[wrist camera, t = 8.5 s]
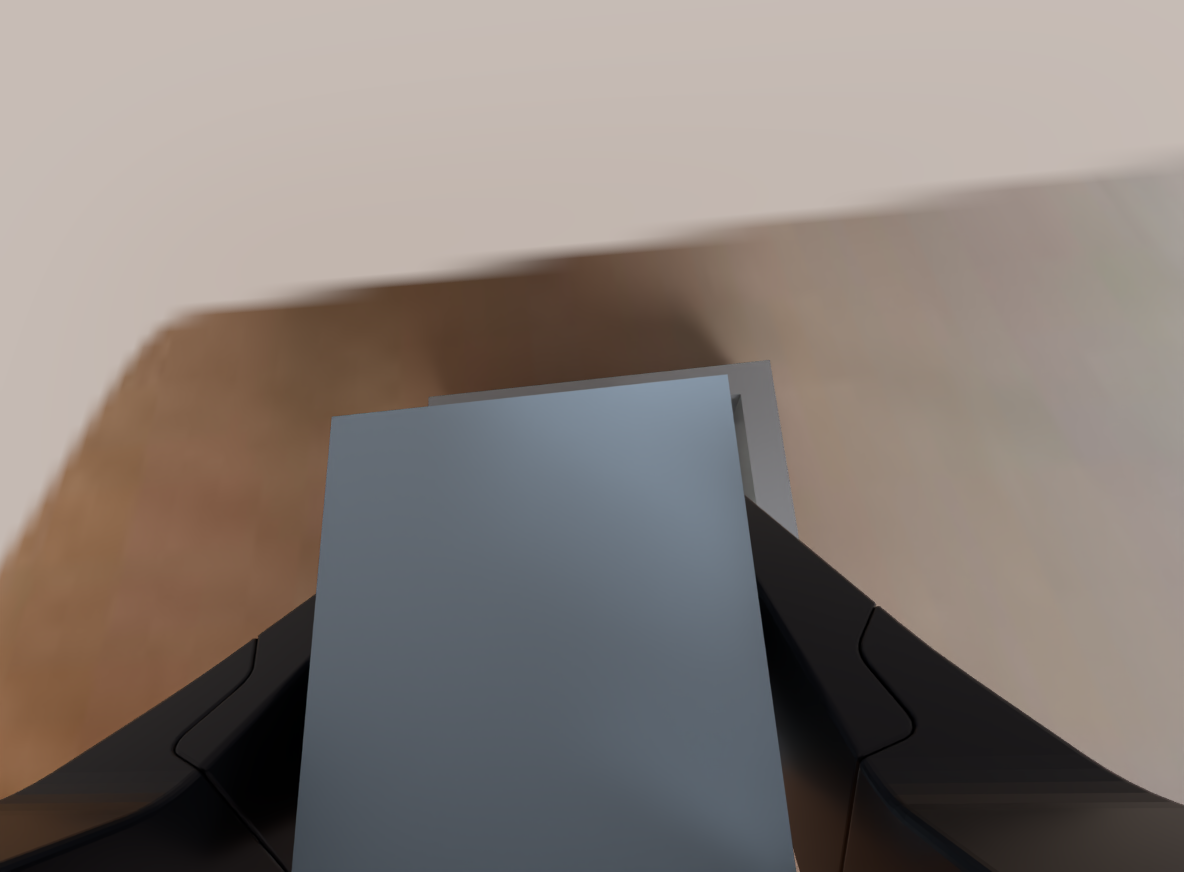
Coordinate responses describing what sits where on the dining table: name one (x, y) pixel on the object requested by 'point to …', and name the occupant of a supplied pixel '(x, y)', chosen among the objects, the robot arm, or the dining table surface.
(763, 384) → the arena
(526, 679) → the slate block
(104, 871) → the robot arm
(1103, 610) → the dining table surface
